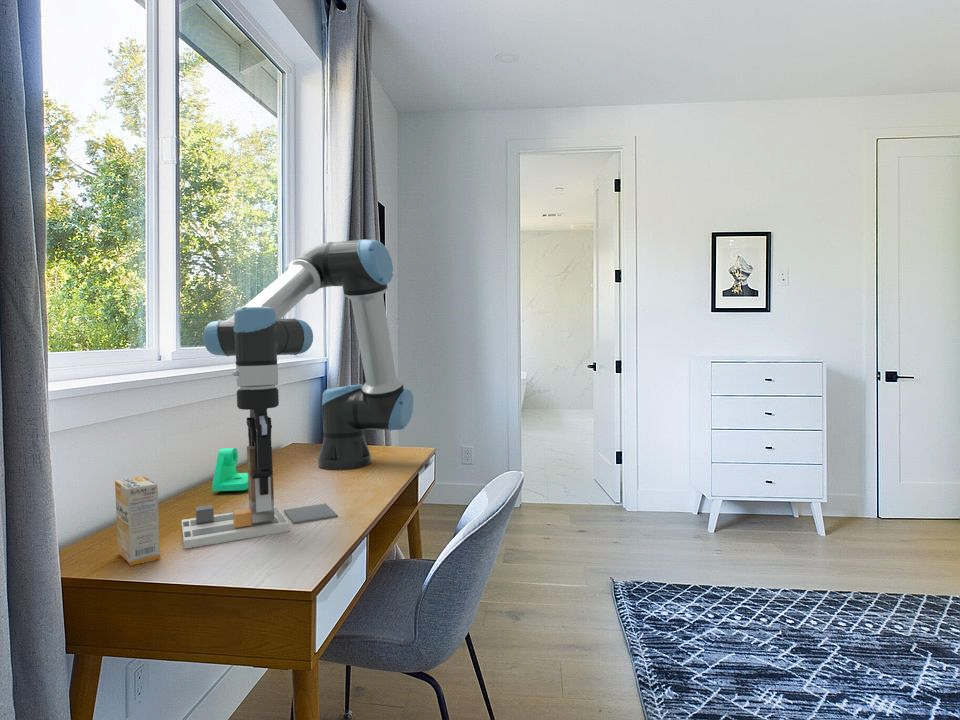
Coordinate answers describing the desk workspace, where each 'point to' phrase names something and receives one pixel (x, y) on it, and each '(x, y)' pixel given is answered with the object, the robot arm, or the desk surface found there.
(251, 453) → the wooden beam block
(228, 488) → the camera mount
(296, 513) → the mat
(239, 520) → the tab
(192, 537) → the switch board
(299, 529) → the desk surface
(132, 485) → the supplement box
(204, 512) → the tab
